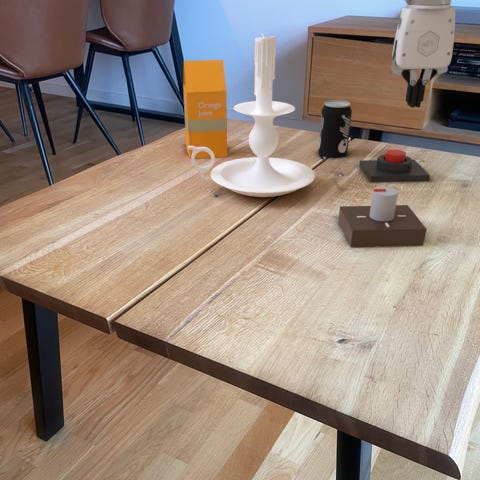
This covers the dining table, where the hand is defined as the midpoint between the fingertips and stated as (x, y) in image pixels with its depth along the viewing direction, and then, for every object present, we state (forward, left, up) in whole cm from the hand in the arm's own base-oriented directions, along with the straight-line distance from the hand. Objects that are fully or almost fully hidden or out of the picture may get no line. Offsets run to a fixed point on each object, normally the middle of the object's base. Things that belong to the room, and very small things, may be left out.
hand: (413, 105), depth 109 cm
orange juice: (+41, -19, -15) cm, 48 cm away
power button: (+2, 0, -11) cm, 11 cm away
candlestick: (+32, +5, -15) cm, 36 cm away
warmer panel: (+12, +27, -15) cm, 33 cm away
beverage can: (+12, -14, -15) cm, 24 cm away
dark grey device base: (+2, 0, -15) cm, 15 cm away
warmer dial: (+12, +27, -11) cm, 32 cm away
